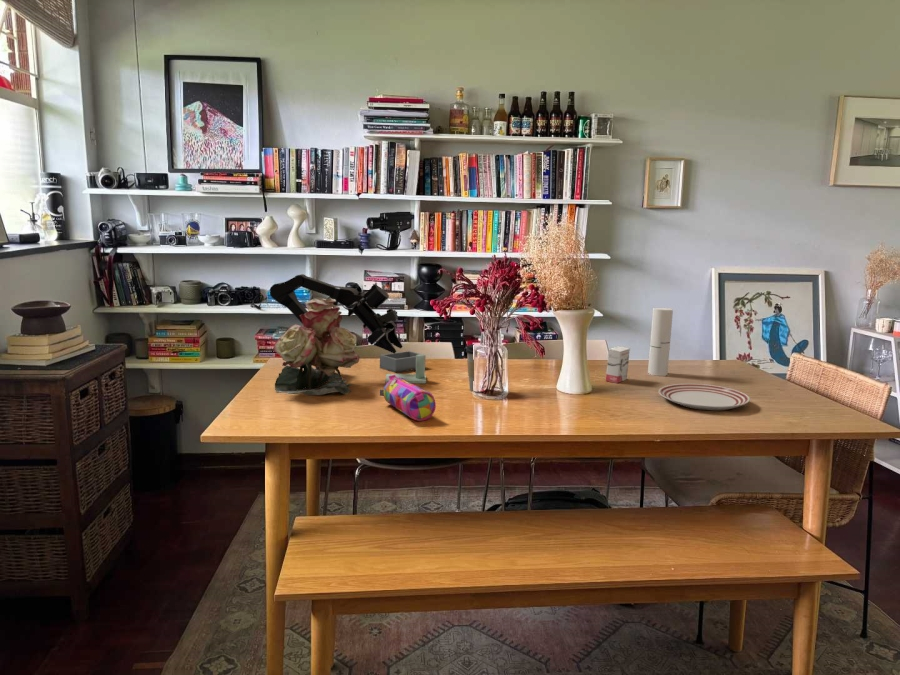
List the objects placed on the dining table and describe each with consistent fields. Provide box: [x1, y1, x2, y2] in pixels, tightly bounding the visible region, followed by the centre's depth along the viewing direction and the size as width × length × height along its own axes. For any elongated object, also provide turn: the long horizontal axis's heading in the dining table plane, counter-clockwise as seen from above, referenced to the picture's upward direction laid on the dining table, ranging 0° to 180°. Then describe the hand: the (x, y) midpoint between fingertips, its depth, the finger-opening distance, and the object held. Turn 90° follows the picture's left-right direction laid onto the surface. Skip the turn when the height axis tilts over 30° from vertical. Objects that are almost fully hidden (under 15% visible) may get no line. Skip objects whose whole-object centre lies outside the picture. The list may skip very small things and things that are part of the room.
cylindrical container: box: [647, 307, 674, 377], centre depth 251 cm, size 7×7×25 cm
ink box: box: [605, 345, 631, 384], centre depth 240 cm, size 9×5×12 cm, turn 143°
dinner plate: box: [658, 383, 751, 411], centre depth 214 cm, size 27×27×3 cm
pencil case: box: [379, 375, 437, 422], centre depth 194 cm, size 22×9×9 cm, turn 29°
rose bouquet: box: [272, 296, 360, 396], centre depth 218 cm, size 26×29×30 cm
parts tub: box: [379, 350, 424, 374], centre depth 251 cm, size 10×14×5 cm
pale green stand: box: [384, 353, 427, 384], centre depth 232 cm, size 10×14×9 cm
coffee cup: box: [465, 343, 475, 392], centre depth 221 cm, size 9×9×15 cm
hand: (398, 350), depth 233 cm, fingers open, 9 cm apart
